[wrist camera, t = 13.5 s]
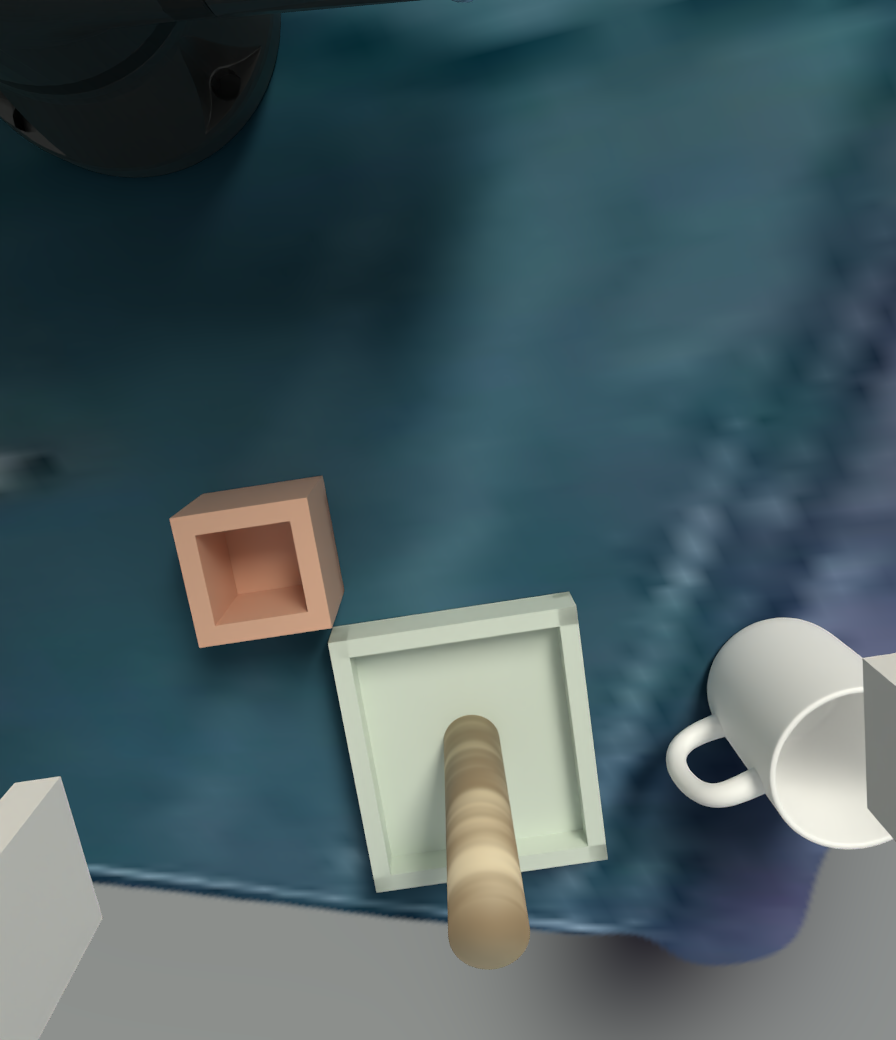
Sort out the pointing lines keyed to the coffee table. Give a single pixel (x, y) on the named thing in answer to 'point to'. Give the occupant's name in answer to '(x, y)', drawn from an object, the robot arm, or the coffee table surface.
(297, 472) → the coffee table surface
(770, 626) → the cup
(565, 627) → the tray
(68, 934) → the robot arm
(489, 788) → the pin
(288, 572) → the holder
